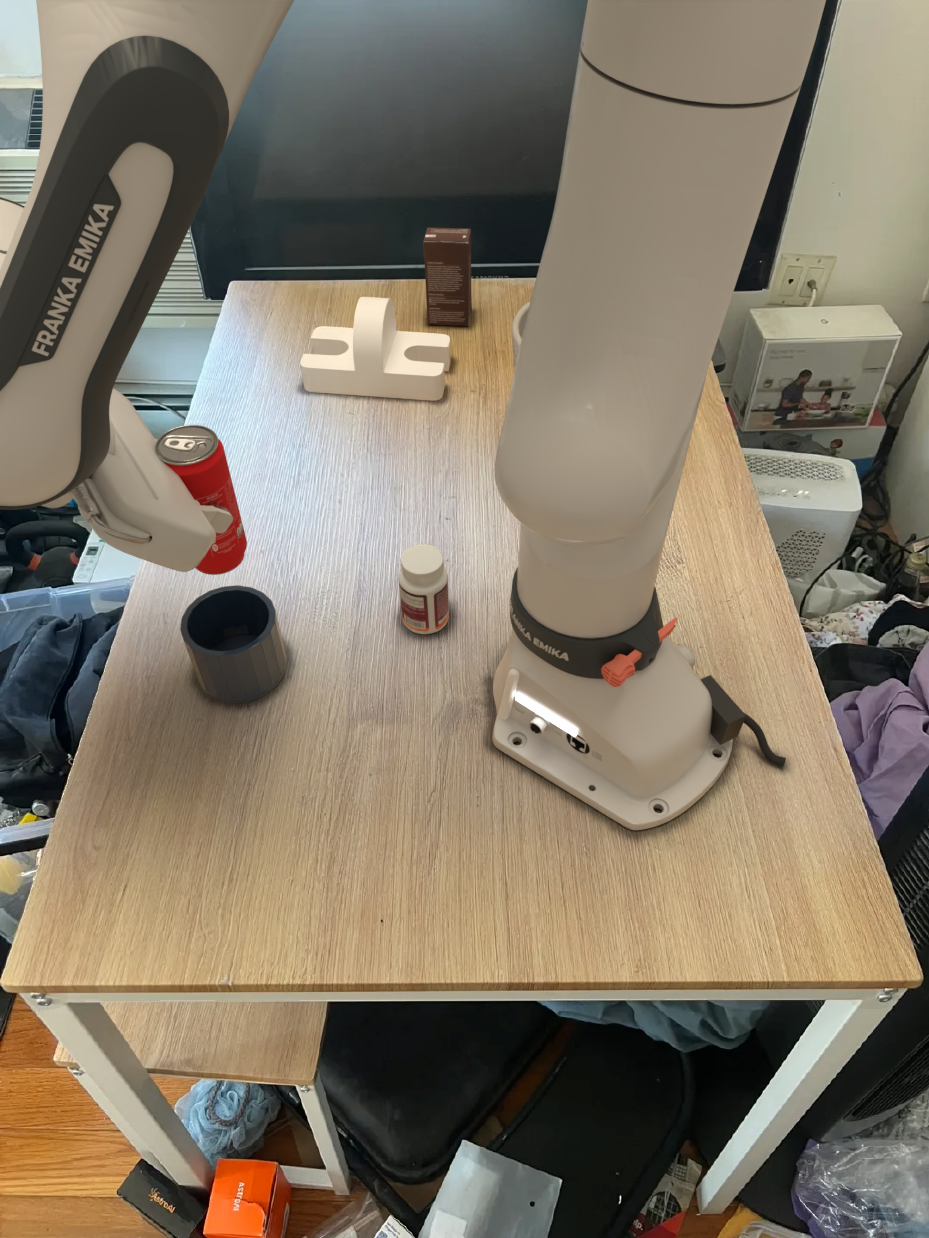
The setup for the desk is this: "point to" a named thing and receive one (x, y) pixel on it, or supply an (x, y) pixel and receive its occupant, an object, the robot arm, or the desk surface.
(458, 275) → the box
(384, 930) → the desk surface
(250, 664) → the faceted open cup
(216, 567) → the beverage can
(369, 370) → the white u-slot block
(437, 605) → the pill bottle
